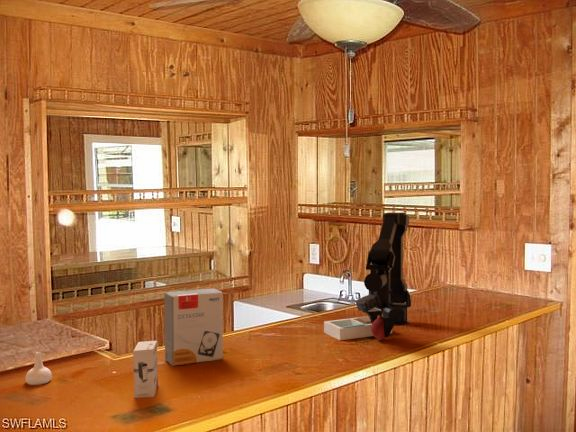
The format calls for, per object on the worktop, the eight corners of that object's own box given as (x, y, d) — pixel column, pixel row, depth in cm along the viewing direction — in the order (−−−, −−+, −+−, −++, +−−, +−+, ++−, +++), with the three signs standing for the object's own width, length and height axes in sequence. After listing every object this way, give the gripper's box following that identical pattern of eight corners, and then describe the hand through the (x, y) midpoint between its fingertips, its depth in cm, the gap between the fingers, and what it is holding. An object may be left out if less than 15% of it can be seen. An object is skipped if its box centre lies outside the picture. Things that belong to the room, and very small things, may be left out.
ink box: (139, 386, 155) (138, 340, 155) (158, 385, 156) (157, 339, 155) (133, 398, 147) (132, 350, 146) (154, 397, 147) (153, 349, 146)
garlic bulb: (42, 388, 156) (44, 358, 155) (20, 385, 157) (21, 354, 156) (55, 380, 162) (57, 351, 162) (34, 377, 163) (35, 348, 163)
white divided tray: (374, 326, 215) (374, 313, 215) (392, 333, 205) (392, 320, 205) (324, 332, 207) (323, 319, 207) (339, 340, 197) (339, 326, 197)
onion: (391, 339, 198) (390, 314, 197) (386, 343, 192) (386, 317, 192) (374, 337, 200) (373, 313, 200) (368, 341, 195) (368, 316, 195)
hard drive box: (172, 367, 171) (170, 296, 170) (164, 360, 178) (162, 292, 176) (224, 359, 178) (223, 291, 177) (214, 352, 185) (213, 287, 183)
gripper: (344, 284, 201) (344, 331, 202) (375, 293, 184) (375, 344, 185) (373, 281, 205) (373, 327, 206) (406, 290, 188) (406, 340, 189)
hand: (381, 334), depth 196 cm, fingers closed on onion, 6 cm apart
